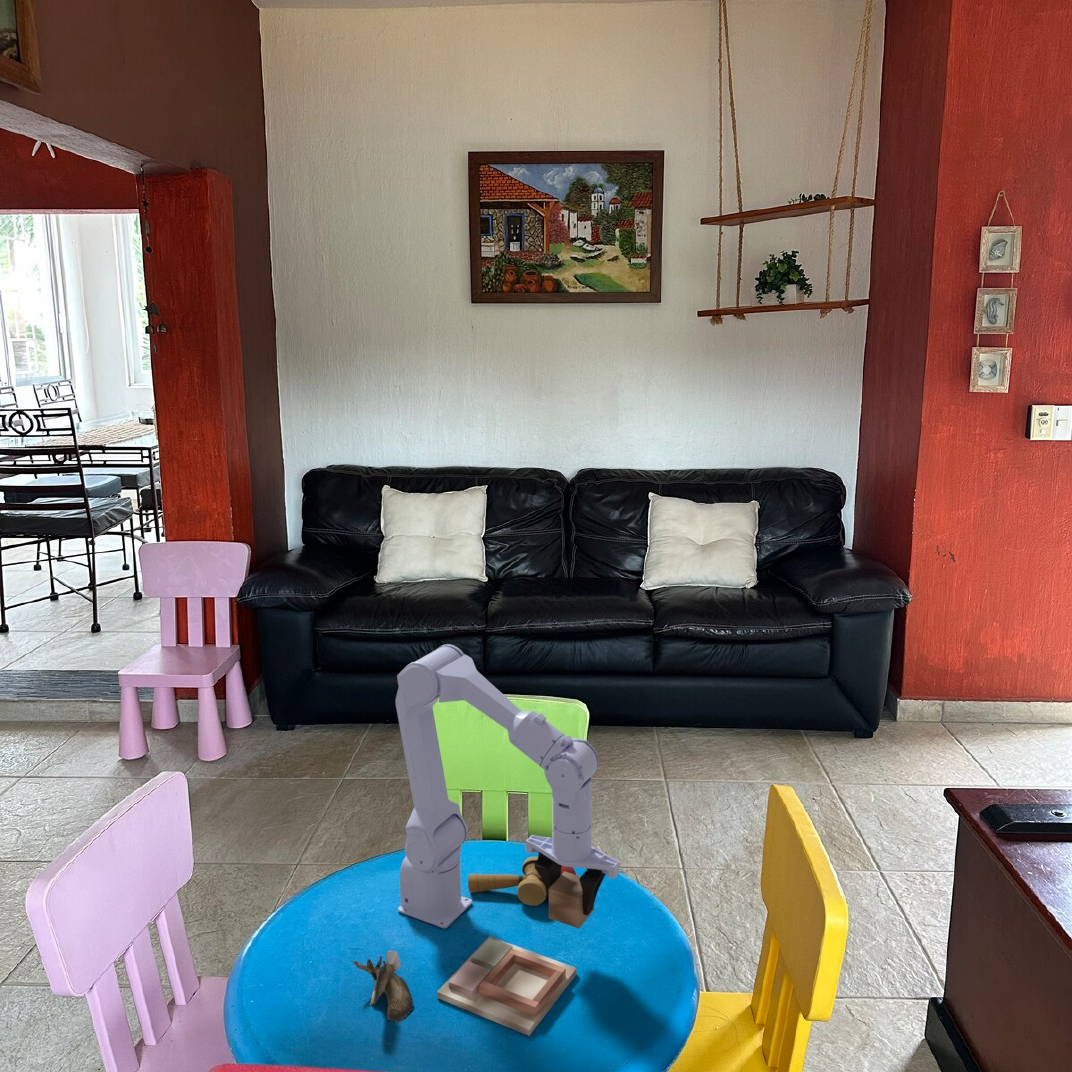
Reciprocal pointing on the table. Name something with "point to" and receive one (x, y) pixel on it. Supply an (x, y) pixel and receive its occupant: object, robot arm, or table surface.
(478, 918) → the table surface
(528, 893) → the kendama
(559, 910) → the walnut block
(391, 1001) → the eagle figurine
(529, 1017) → the puzzle board
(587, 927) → the table surface
